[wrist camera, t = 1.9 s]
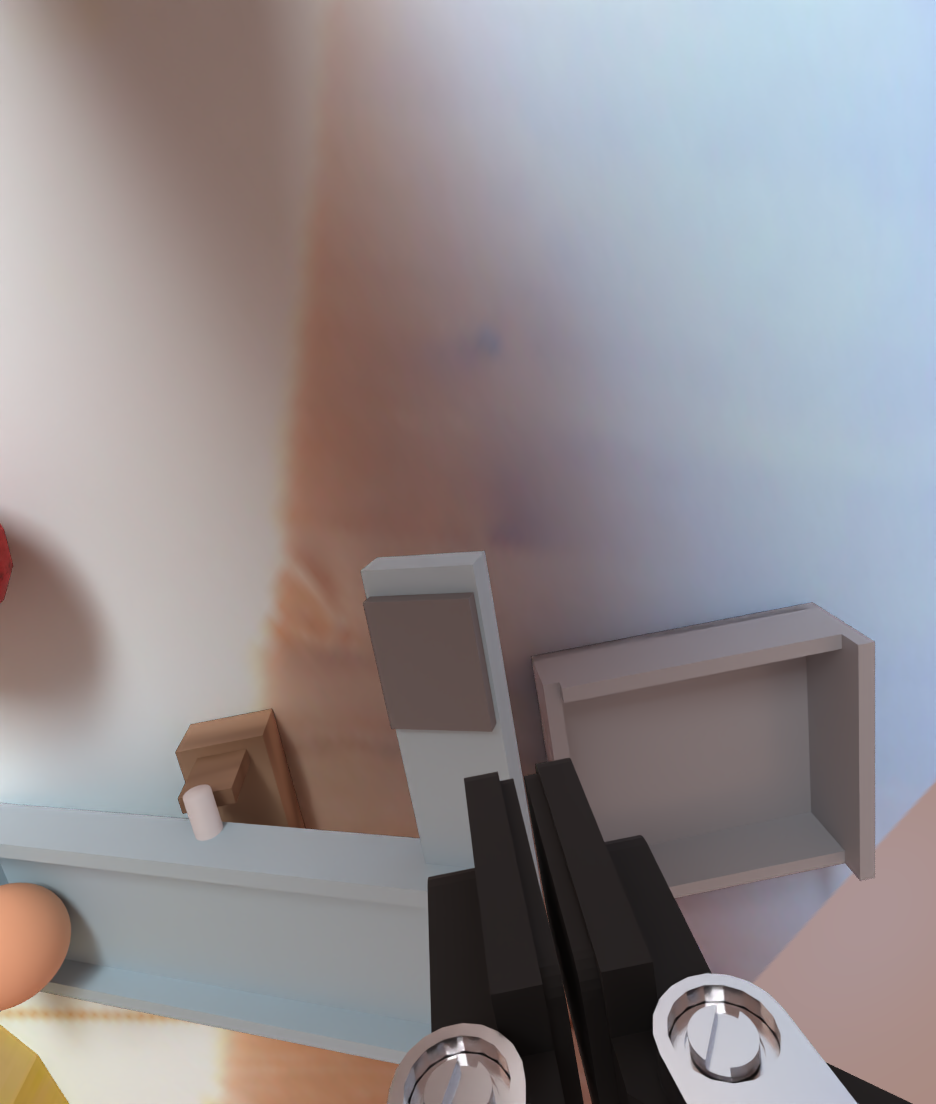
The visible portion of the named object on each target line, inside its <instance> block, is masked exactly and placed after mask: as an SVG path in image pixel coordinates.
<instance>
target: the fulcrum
mask: <svg viewBox="0 0 936 1104" xmlns="http://www.w3.org/2000/svg"><path fill="white" fill-rule="evenodd" d="M175 753H176V756H177V759H178V762H179V765H180V768H181V771H182V774H183V777H184V780H185V785H184V787H183V789H182V791H181V793H180V795H179V797H178V801H179V804H180V807H181V810H182V813H183V814H184V813H187V811H186V808H185V805H184V802H183V795H184V794H185V793H186V792H187V791H188V790H189V789H191V788H193V787H195V786H198V785H209V786H210V787H211V789H212V792H213V796H214V799H215V802H216V805H217V808H218V811H219V815H220V818H221V821H222V822H232V823H244V824H256V825H268V826H280V827H291V828H303V829H305V826H304V822H303V819H302V815H301V812H300V808H299V804H298V801H297V797H296V794H295V790H294V786H293V783H292V779H291V776H290V772H289V768H288V765H287V761H286V758H285V754H284V750H283V747H282V743H281V739H280V736H279V732H278V729H277V725H276V721H275V718H274V714H273V711H272V709H268V710H263V711H258V712H252V713H247V714H242V715H237V716H232V717H227V718H221V719H216V720H211V721H206V722H201V723H195V724H191V725H190V727H189V728H188V730H187V732H186V734H185V736H184V738H183V739H182V741H181V743H180V745H179V747H178V748H177V750H176V752H175Z"/></svg>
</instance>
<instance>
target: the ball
mask: <svg viewBox="0 0 936 1104" xmlns="http://www.w3.org/2000/svg"><path fill="white" fill-rule="evenodd" d="M70 939H71V922H70V917H69V914H68V911H67V909H66V907H65V905H64V903H63V902H62V901H61V899H60V898H59V897H58V896H57V895H56V894H55V893H53V892H52V891H50V890H49V889H47V888H45V887H43V886H40V885H37V884H32V883H9V884H5V885H1V886H0V1011H1V1010H5V1009H8V1008H11V1007H14V1006H16V1005H19V1004H21V1003H23V1002H25V1001H26V1000H28V999H30V998H31V997H33V996H34V995H35V994H37V993H38V992H39V991H41V990H42V989H43V988H44V987H45V986H46V985H47V984H48V983H49V982H50V981H51V979H52V978H53V977H54V976H55V974H56V973H57V971H58V970H59V969H60V967H61V965H62V963H63V961H64V959H65V957H66V954H67V952H68V948H69V945H70Z"/></svg>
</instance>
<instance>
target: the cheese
mask: <svg viewBox="0 0 936 1104" xmlns="http://www.w3.org/2000/svg"><path fill="white" fill-rule="evenodd" d="M0 1104H69V1103H68V1101H67V1100H66V1098H65V1097H64V1095H63V1093H62V1092H61V1090H60V1089H59V1087H58V1086H57V1084H56V1082H55V1081H54V1079H53V1078H52V1076H51V1075H50V1073H49V1072H48V1070H47V1068H46V1067H45V1065H44V1064H43V1062H42V1061H41V1059H40V1057H39V1056H38V1055H37V1054H36V1053H35V1052H34V1051H32V1050H31V1049H30V1048H29V1047H27V1046H26V1045H25V1044H24V1043H22V1042H21V1041H20V1040H19V1039H17V1038H16V1037H15V1036H14V1035H12V1034H11V1033H10V1032H9V1031H7V1030H6V1029H5V1028H4V1027H3V1026H1V1025H0Z"/></svg>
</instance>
